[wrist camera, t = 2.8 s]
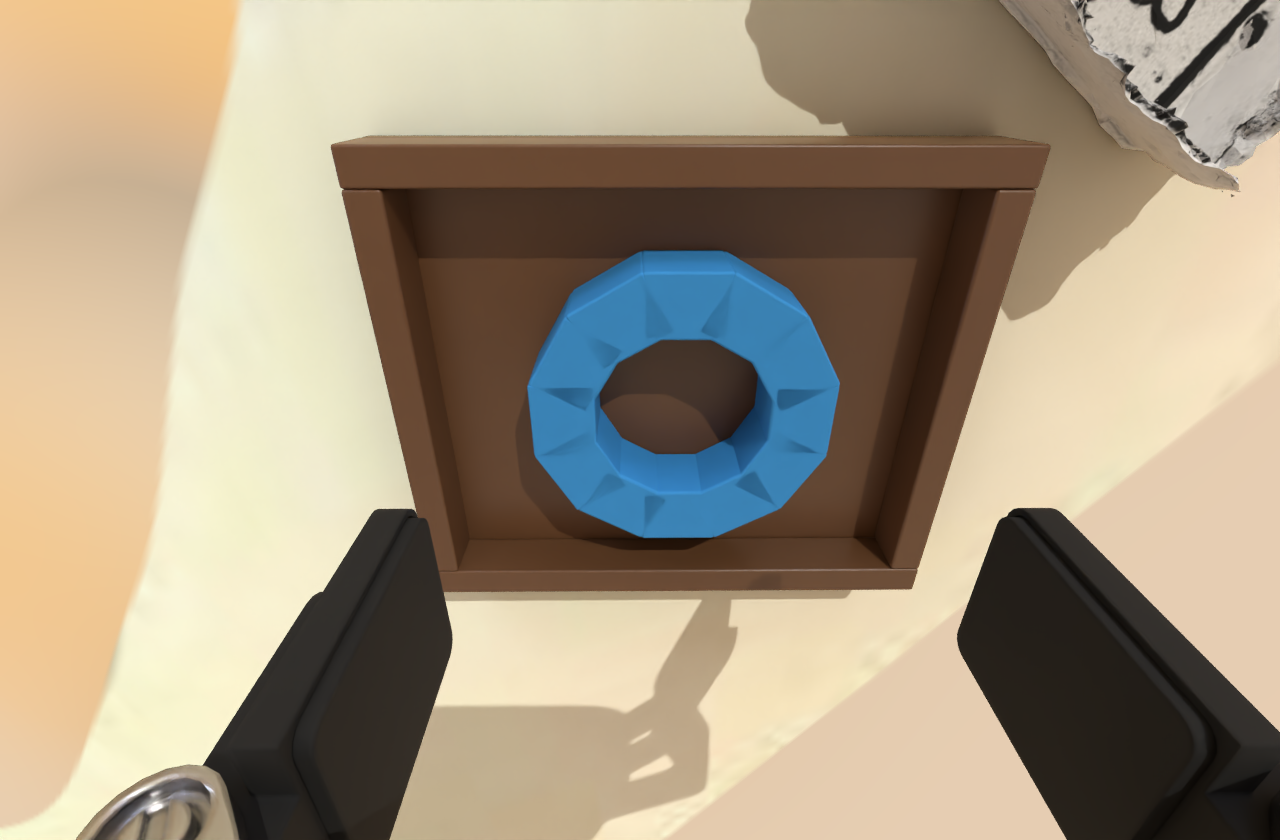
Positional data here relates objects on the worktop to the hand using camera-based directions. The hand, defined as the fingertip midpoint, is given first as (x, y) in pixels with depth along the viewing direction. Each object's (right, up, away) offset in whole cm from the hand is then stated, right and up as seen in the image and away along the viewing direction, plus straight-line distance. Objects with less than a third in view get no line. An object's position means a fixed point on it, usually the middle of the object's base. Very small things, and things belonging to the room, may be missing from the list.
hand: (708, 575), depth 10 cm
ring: (0, +3, +5) cm, 6 cm away
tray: (0, +4, +6) cm, 7 cm away
